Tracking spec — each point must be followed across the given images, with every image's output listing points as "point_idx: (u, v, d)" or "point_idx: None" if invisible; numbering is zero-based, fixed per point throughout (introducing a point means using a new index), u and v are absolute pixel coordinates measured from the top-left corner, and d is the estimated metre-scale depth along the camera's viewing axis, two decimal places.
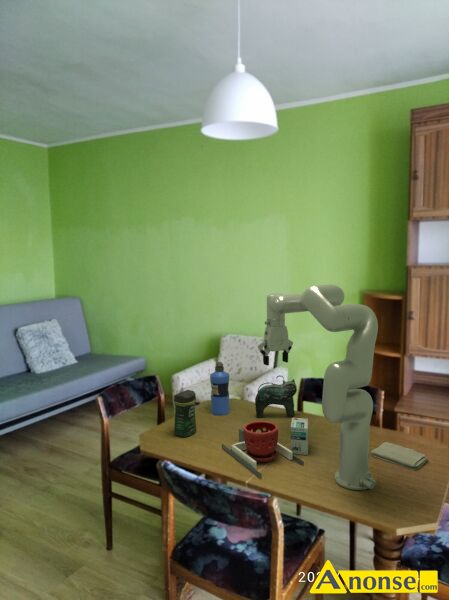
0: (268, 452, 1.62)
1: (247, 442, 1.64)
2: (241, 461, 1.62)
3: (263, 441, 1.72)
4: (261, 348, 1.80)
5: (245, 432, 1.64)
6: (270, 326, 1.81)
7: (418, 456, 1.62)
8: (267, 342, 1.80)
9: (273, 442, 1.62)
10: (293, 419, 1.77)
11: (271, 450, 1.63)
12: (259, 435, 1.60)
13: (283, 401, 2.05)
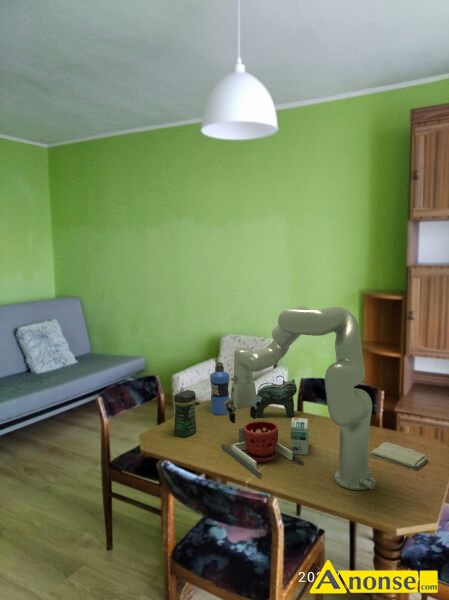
0: (268, 452, 1.62)
1: (247, 442, 1.64)
2: (241, 461, 1.62)
3: (263, 441, 1.72)
4: (227, 406, 1.73)
5: (245, 432, 1.64)
6: (237, 383, 1.73)
7: (418, 456, 1.62)
8: (233, 399, 1.73)
9: (273, 442, 1.62)
10: (293, 419, 1.76)
11: (271, 450, 1.63)
12: (259, 435, 1.60)
13: (283, 401, 2.05)
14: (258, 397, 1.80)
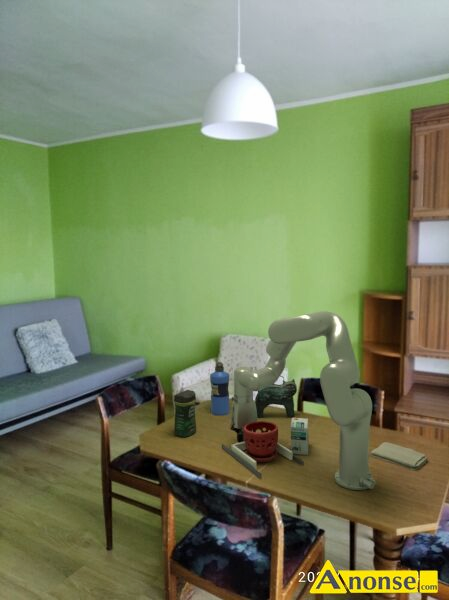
0: (268, 452, 1.62)
1: (247, 442, 1.64)
2: (241, 461, 1.62)
3: (263, 441, 1.72)
4: (233, 428, 1.75)
5: (245, 432, 1.64)
6: (237, 402, 1.74)
7: (418, 456, 1.62)
8: (234, 419, 1.74)
9: (273, 442, 1.62)
10: (293, 419, 1.76)
11: (271, 450, 1.63)
12: (259, 435, 1.60)
13: (283, 401, 2.05)
14: None
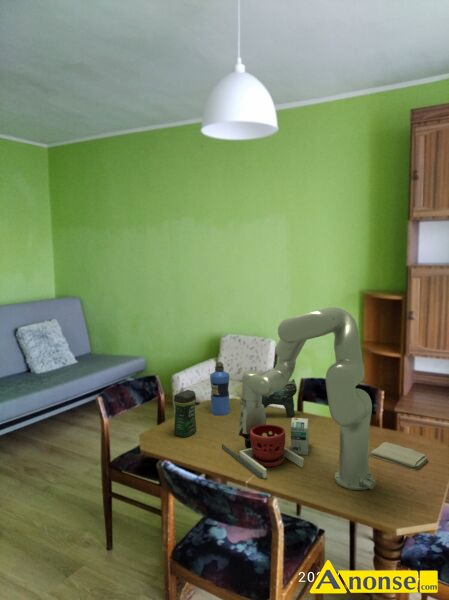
0: (276, 456, 1.58)
1: (254, 446, 1.60)
2: (241, 461, 1.62)
3: (269, 445, 1.68)
4: (241, 434, 1.69)
5: (252, 436, 1.60)
6: (246, 407, 1.68)
7: (418, 456, 1.62)
8: (242, 424, 1.68)
9: (281, 446, 1.59)
10: (293, 419, 1.77)
11: (279, 454, 1.59)
12: (267, 439, 1.57)
13: (283, 401, 2.05)
14: None
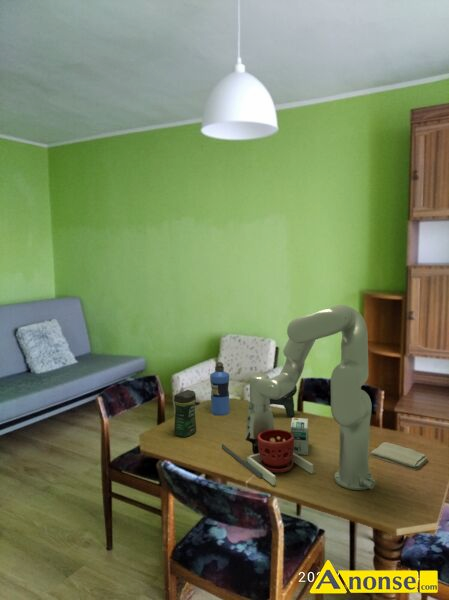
0: (284, 462, 1.54)
1: (262, 452, 1.55)
2: (241, 461, 1.62)
3: (277, 450, 1.64)
4: (249, 439, 1.65)
5: (260, 441, 1.56)
6: (253, 411, 1.64)
7: (418, 456, 1.62)
8: (250, 429, 1.64)
9: (289, 452, 1.54)
10: (293, 419, 1.76)
11: (287, 460, 1.54)
12: (275, 445, 1.52)
13: (283, 401, 2.05)
14: None
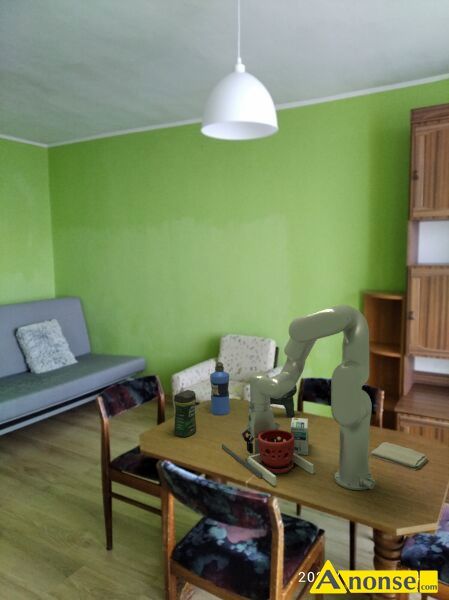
0: (284, 463, 1.54)
1: (262, 452, 1.55)
2: (241, 461, 1.62)
3: (278, 451, 1.63)
4: (244, 435, 1.63)
5: (260, 442, 1.56)
6: (254, 410, 1.63)
7: (418, 456, 1.62)
8: (251, 428, 1.63)
9: (290, 452, 1.54)
10: (293, 419, 1.76)
11: (288, 461, 1.54)
12: (275, 445, 1.52)
13: (283, 401, 2.05)
14: (276, 424, 1.70)
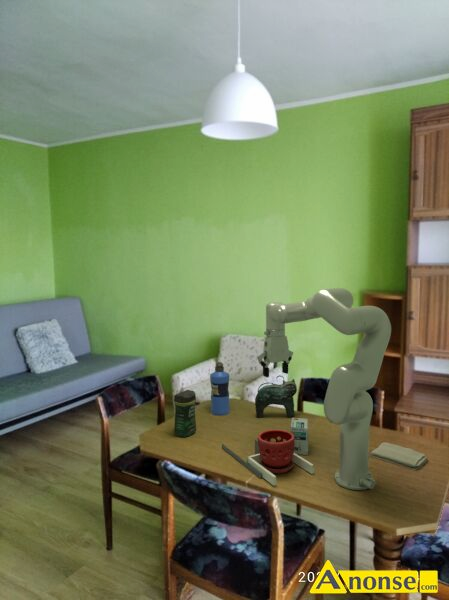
0: (284, 463, 1.54)
1: (262, 452, 1.55)
2: (241, 461, 1.62)
3: (278, 451, 1.63)
4: (261, 359, 1.73)
5: (260, 442, 1.56)
6: (270, 336, 1.74)
7: (418, 456, 1.62)
8: (267, 353, 1.73)
9: (290, 452, 1.54)
10: (293, 419, 1.77)
11: (288, 461, 1.54)
12: (275, 445, 1.52)
13: (283, 401, 2.05)
14: (290, 352, 1.80)
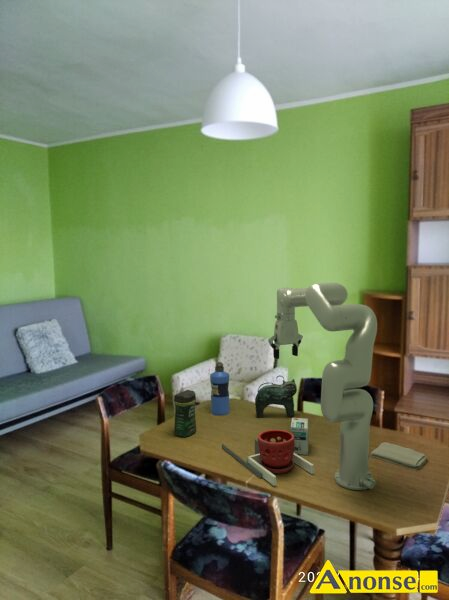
0: (284, 463, 1.54)
1: (262, 452, 1.55)
2: (241, 461, 1.62)
3: (278, 451, 1.63)
4: (271, 342, 1.82)
5: (260, 442, 1.56)
6: (280, 320, 1.83)
7: (418, 456, 1.62)
8: (277, 336, 1.83)
9: (290, 452, 1.54)
10: (293, 419, 1.77)
11: (288, 461, 1.54)
12: (275, 445, 1.52)
13: (283, 401, 2.05)
14: (299, 335, 1.89)
